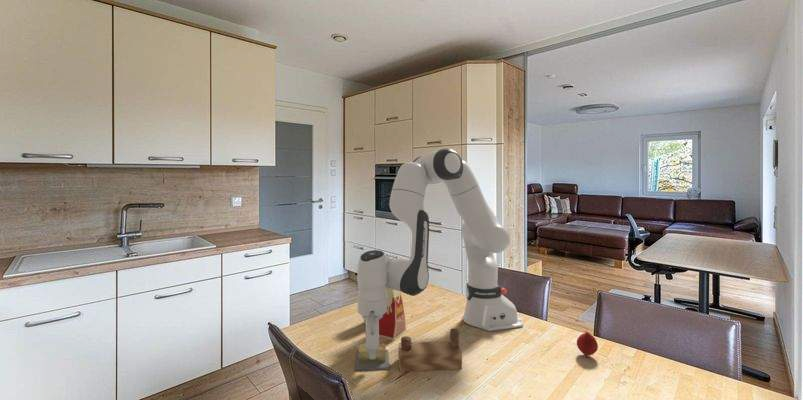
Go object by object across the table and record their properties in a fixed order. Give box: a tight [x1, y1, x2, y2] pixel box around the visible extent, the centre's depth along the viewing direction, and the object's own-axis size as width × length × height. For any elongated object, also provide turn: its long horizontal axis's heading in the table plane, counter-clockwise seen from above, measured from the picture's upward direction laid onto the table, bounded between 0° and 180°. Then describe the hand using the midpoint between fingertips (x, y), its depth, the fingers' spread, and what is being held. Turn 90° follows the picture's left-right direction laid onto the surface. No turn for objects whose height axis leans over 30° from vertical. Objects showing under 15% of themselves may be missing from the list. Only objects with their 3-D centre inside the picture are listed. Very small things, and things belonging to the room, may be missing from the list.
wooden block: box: [358, 342, 387, 363], centre depth 108 cm, size 8×4×4 cm, turn 95°
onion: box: [576, 330, 599, 357], centre depth 111 cm, size 6×6×8 cm
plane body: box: [398, 328, 463, 372], centre depth 106 cm, size 18×7×10 cm, turn 95°
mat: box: [354, 349, 391, 371], centre depth 108 cm, size 10×10×1 cm
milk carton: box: [379, 288, 407, 342], centre depth 126 cm, size 9×9×20 cm
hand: (372, 349), depth 108 cm, fingers open, 8 cm apart
